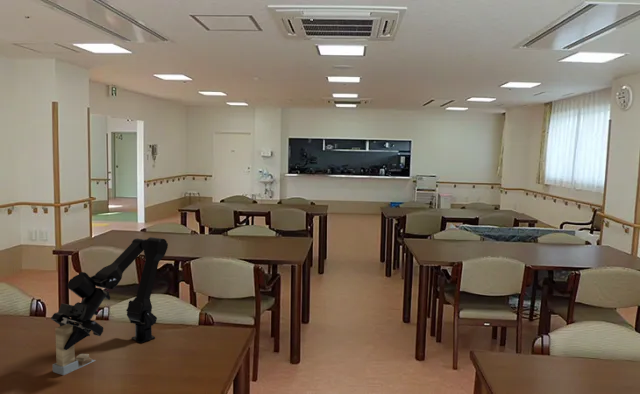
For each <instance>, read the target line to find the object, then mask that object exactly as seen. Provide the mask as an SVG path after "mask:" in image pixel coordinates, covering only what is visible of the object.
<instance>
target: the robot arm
mask: <svg viewBox="0 0 640 394" xmlns="http://www.w3.org/2000/svg"><path fill="white" fill-rule="evenodd" d="M168 248H169V244H168V242H167V240H166V239H165V238H161V237H160V238H159V237H151V236H150V237H148V238H147V239H145V238H134V239H133V240H132V241H131V243H130V244H129V245H128V246H127V248H126V249H125V250H123V252H122V253H121V254H120V255H119V256H117V258H115V260H114V261H113V262H112V263H111V264H109V265H106V266H104V267H103V268H100V270H98V271H97V272H96V273H95V275H92V276H89V274H88V273H86V272H84V271H80V272H79V274H77V275H75V276H73V277H72V278H70V279H69V280H68V282H67V289H68V290H70V292H72V293H73V294H75V295H76V296H78V297H79V298H81V299H82V300H81V302H78V301H77V302H76V303H75V304H73V305H72V304H67V303H60V306H59V309H58V311H57V312H54V313H52V315H51V318H50V319H51V321H53V322H54V323H56V324H58V325H59V327H60V326H63V325H66V324H69V325H73V332H72V334H71V336H70V338H69V339H68V341H67V343H66V344H65V346H64V349H65V350H67V349H69V348H70V347H72V346H73V345H74V346H75V345H76V344H77V343H79V342H80V341H82V340H84V339H85V338H87V337H90V336H91V331H92V334H93V335H94V336H97V337H101V336H102V334H103V332H104V326H103V325H101V324H99V323H98V322H97V321H95V320H92V318H93V317H94V316H97V315H99V312H98V309H99V307H100V306H101V305H102V303H103V301H104V300H111V295H110V291H108V290H113V289H115V288H116V287H117V286H118V285H119V283H120V282H121V281H122V278H123V273H124V272H125V271H126V270H127V269H128V268H129V267H130V266H131V264H132V263H134V261H135V260H137V258H138V257H139V256H140V255H141V254H142V253H143V255H144V258H145V261H144V266H143V268H142V269H143V270H142V274H141V276H140V281H139V285H138V290H137V292H136V297H134V298H133V300H129V301H128V304H127V308H126V310H125V312H126V316H127V319H128V320H129V323H130V324H134V325H135V326H134V330H135V331H134V332H135V333H134V334H135V335H134V336H132V337H131V340H133V341H134V342H135V341H136V342H137V343H139V344H142V343H145V342H149V341H151V340H155V339H156V336H154V335H153V333H152V331H153V329H152V326H154V325H155V324H156V323H157V320H158V317H157V316H156V315H155V314H154V313H152V309H153V305H152V301H151V295H152V292H153V288H154V283H155V280H156V275H157V272H158V267H159V263H160V262H161V260H162V259H163V258H164V257H165V255H166V253H167V251H168ZM104 289H108V290H104Z"/></svg>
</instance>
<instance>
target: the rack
mask: <svg viewBox="0 0 640 394" xmlns="http://www.w3.org/2000/svg"><path fill="white" fill-rule="evenodd" d="M96 361H97V360H96V359H93V358H92V362H90V363H87V364H85V365H83V366H81V365H78V361H75V362H73V363H70V364H68V365H66V366H64V367H62V366H58V365H57V362H55V363H52V372H53V373H55V374H58V375H62V376H66V375H67V374H68V375H69V374H70V373H72V372H73V371H74V372H75V371H76V370H78V369H80V368H83V367H85V366H87V365H89V364H91V363H93V362H96Z"/></svg>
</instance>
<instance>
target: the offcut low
mask: <svg viewBox="0 0 640 394" xmlns="http://www.w3.org/2000/svg"><path fill="white" fill-rule="evenodd" d="M92 359H93V358H92V357H90V356H89V358H88V359H86V360H85V361H78V365H81V366H83V365H85V364H87V363H89V364H91V363H90V362H92ZM75 361H76V359H75ZM92 363H93V362H92ZM87 365H88V364H87ZM85 366H86V365H85ZM83 367H84V366H83Z"/></svg>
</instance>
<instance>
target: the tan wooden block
mask: <svg viewBox="0 0 640 394" xmlns="http://www.w3.org/2000/svg"><path fill="white" fill-rule="evenodd" d="M54 329H55V330H54V332H55V333H54V334H55V355H56V357H55V360H56V362H55V363H57V365H58V366H62V367H64V366H66V365H68V364H70V363H73V362H75V357H76V356H75V354H76V353H75V345H73V346H72V347H70V348H69V349H67V350H65V349H64V346H65V344H66V343H67V341H68V339H69V338H70V336H71V334H72V332H73V325H69V324H66V325H63V326H60V325H59V326H58V327H54Z"/></svg>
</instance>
